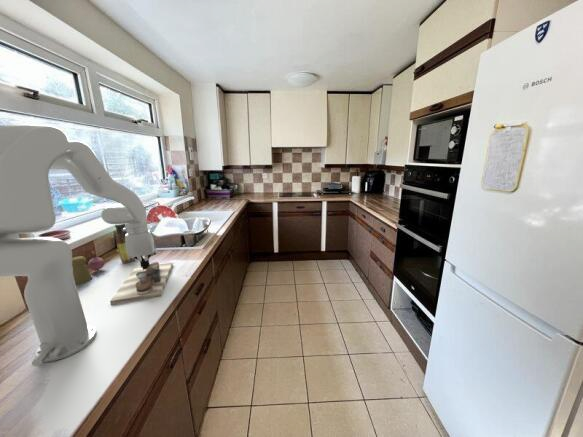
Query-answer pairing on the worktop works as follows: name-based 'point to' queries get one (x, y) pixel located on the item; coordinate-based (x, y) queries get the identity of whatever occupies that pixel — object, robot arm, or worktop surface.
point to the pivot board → (129, 288)
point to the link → (146, 278)
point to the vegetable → (96, 262)
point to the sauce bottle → (122, 244)
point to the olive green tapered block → (80, 270)
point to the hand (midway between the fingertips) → (145, 268)
